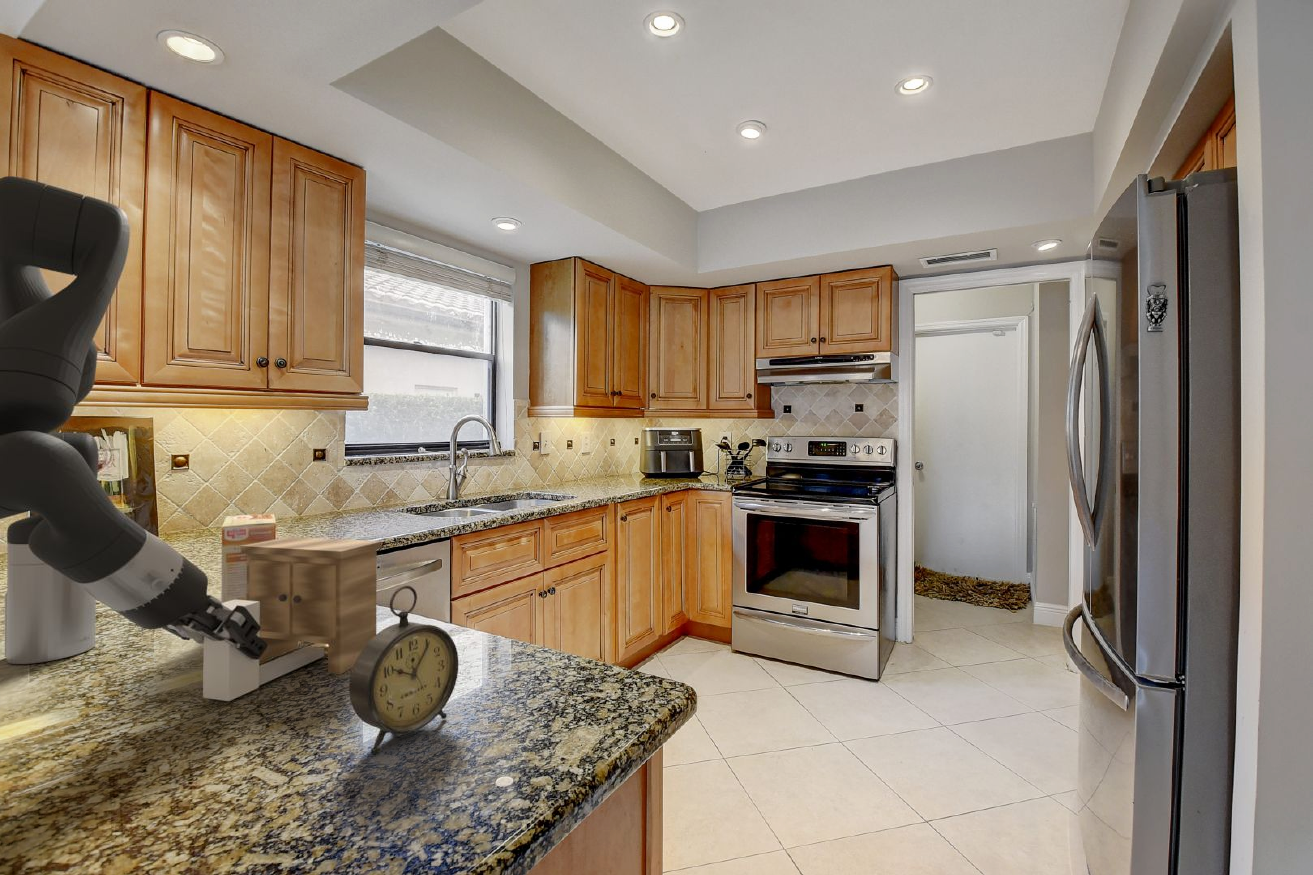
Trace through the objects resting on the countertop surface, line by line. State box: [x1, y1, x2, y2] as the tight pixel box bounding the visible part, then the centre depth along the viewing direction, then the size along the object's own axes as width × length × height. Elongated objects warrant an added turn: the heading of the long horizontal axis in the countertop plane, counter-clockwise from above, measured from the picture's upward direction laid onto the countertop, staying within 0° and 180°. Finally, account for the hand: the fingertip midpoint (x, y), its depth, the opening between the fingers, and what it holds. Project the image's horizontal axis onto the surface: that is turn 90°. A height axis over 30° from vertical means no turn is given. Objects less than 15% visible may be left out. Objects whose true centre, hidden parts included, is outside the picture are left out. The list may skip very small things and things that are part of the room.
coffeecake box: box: [220, 513, 277, 603], centre depth 93 cm, size 15×7×20 cm, turn 34°
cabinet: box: [241, 536, 383, 675], centre depth 84 cm, size 17×8×17 cm, turn 76°
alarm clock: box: [348, 585, 459, 755], centre depth 63 cm, size 11×5×16 cm, turn 148°
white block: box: [202, 599, 324, 702], centre depth 78 cm, size 4×15×11 cm, turn 166°
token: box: [310, 643, 328, 660], centre depth 87 cm, size 4×4×1 cm
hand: (246, 650), depth 74 cm, fingers closed on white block, 4 cm apart
